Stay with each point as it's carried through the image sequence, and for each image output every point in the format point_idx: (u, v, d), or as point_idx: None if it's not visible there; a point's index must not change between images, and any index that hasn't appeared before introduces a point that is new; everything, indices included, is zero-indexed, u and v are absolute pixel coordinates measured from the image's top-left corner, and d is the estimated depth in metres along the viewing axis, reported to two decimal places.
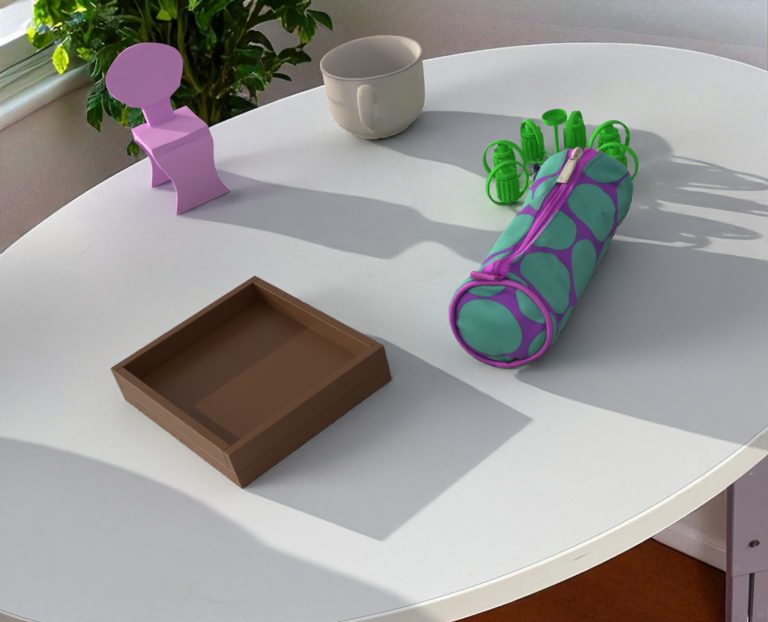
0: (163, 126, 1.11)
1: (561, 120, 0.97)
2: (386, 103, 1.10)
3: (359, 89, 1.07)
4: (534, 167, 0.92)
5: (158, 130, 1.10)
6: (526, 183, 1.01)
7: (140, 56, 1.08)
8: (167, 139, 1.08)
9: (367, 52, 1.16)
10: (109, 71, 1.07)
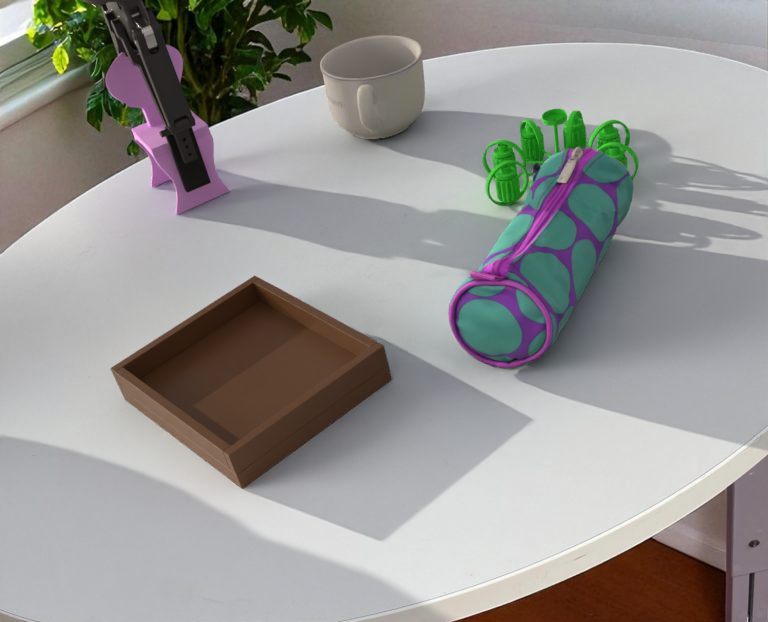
0: (163, 126, 1.11)
1: (561, 120, 0.97)
2: (386, 103, 1.10)
3: (359, 89, 1.07)
4: (534, 167, 0.92)
5: (158, 130, 1.10)
6: (526, 183, 1.01)
7: None
8: None
9: (367, 52, 1.16)
10: (109, 71, 1.07)
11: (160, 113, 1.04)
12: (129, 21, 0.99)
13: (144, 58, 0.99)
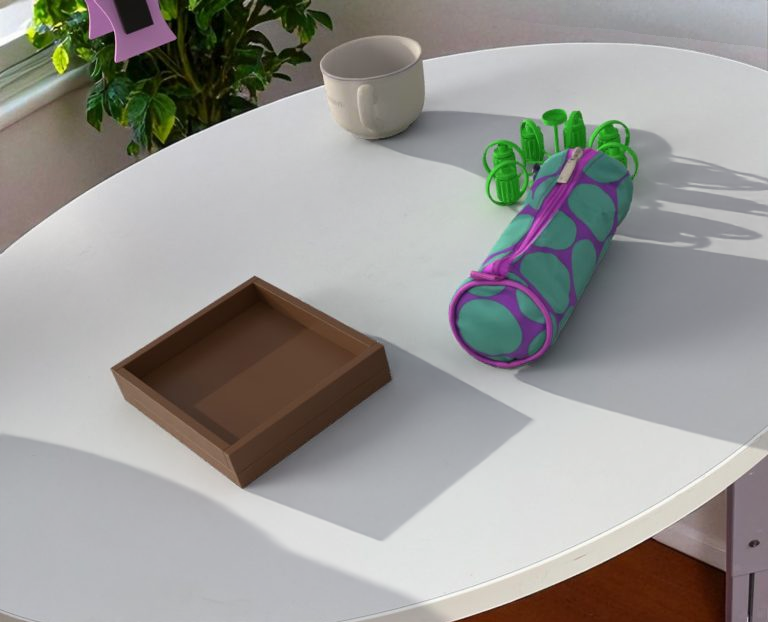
0: None
1: (561, 120, 0.97)
2: (386, 103, 1.10)
3: (359, 89, 1.07)
4: (534, 167, 0.92)
5: None
6: (526, 183, 1.01)
7: None
8: None
9: (367, 52, 1.16)
10: None
11: None
12: None
13: None
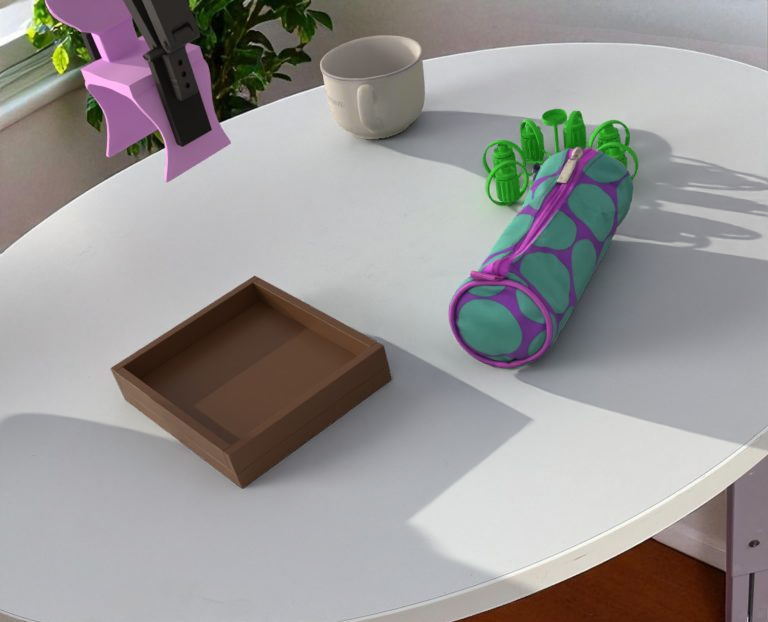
0: (129, 58, 0.77)
1: (561, 120, 0.97)
2: (386, 103, 1.10)
3: (359, 89, 1.07)
4: (534, 167, 0.92)
5: (125, 64, 0.77)
6: (526, 183, 1.01)
7: None
8: (146, 71, 0.75)
9: (367, 52, 1.16)
10: None
11: (143, 25, 0.71)
12: None
13: None
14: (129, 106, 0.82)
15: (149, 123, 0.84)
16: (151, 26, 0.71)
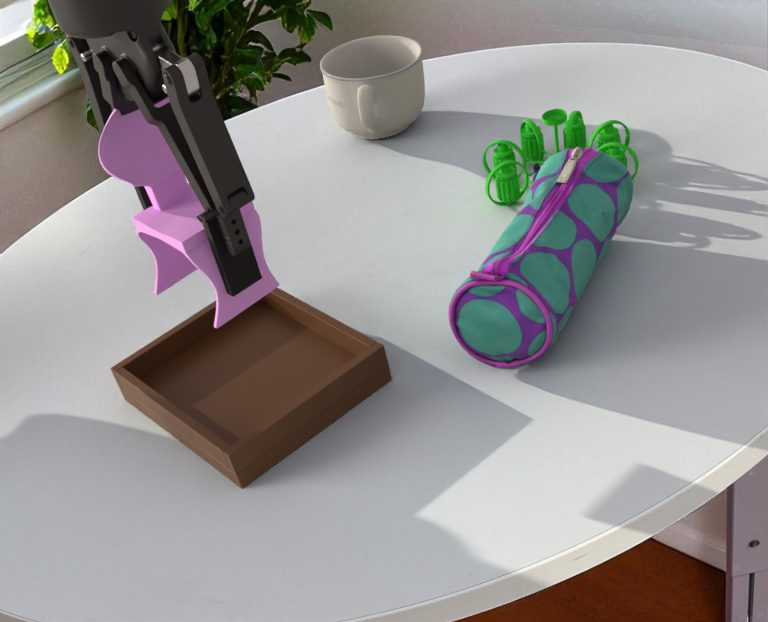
0: (180, 208, 0.77)
1: (561, 120, 0.97)
2: (386, 103, 1.10)
3: (359, 89, 1.07)
4: (534, 167, 0.92)
5: (176, 215, 0.77)
6: (526, 183, 1.01)
7: None
8: (198, 225, 0.75)
9: (367, 52, 1.16)
10: (103, 138, 0.73)
11: (198, 189, 0.71)
12: (150, 58, 0.66)
13: (182, 109, 0.66)
14: None
15: None
16: (206, 189, 0.71)
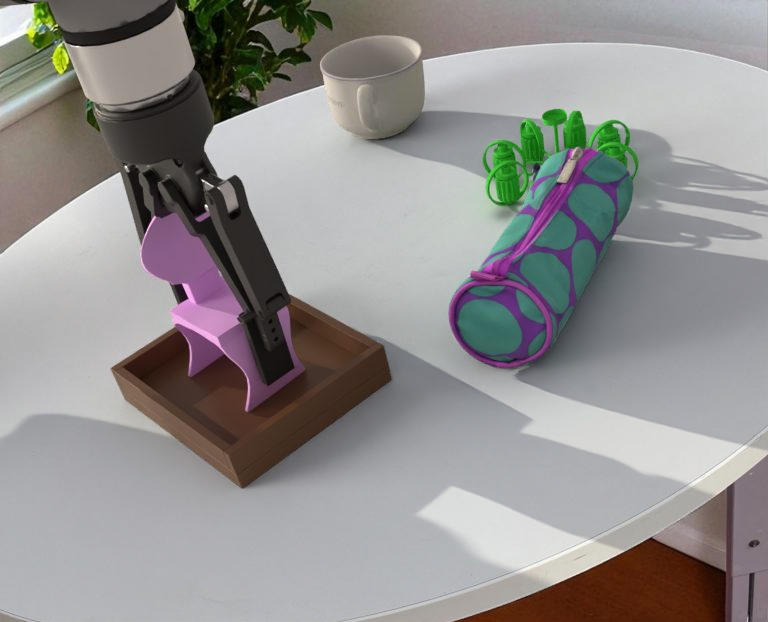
0: (215, 301, 0.83)
1: (561, 120, 0.97)
2: (386, 103, 1.10)
3: (359, 89, 1.07)
4: (534, 167, 0.92)
5: (211, 308, 0.83)
6: (526, 183, 1.01)
7: (179, 217, 0.80)
8: (232, 319, 0.81)
9: (367, 52, 1.16)
10: (145, 243, 0.78)
11: (238, 293, 0.76)
12: (194, 182, 0.72)
13: (223, 226, 0.72)
14: None
15: None
16: (245, 293, 0.76)
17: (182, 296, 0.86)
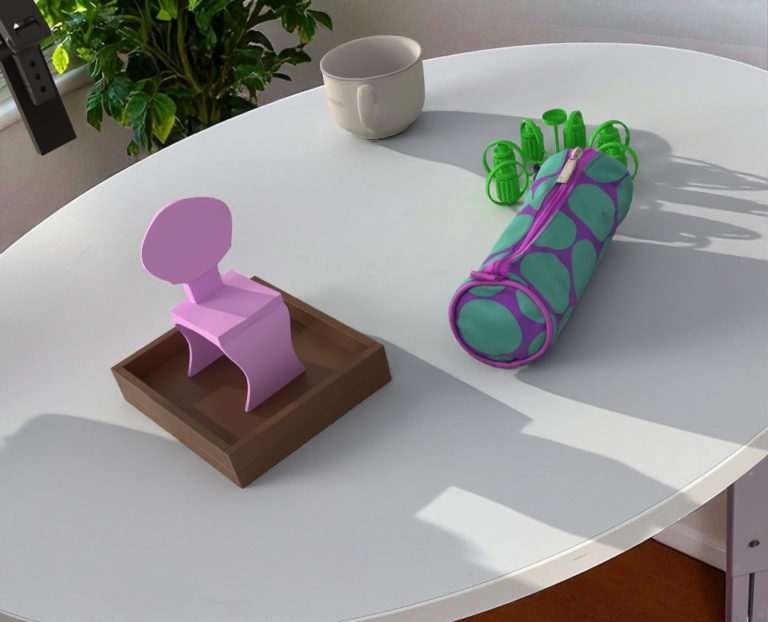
0: (215, 301, 0.83)
1: (561, 120, 0.97)
2: (386, 103, 1.10)
3: (359, 89, 1.07)
4: (534, 167, 0.92)
5: (211, 308, 0.83)
6: (526, 183, 1.01)
7: (179, 217, 0.80)
8: (232, 320, 0.81)
9: (367, 52, 1.16)
10: (145, 243, 0.78)
11: None
12: None
13: None
14: None
15: None
16: None
17: None
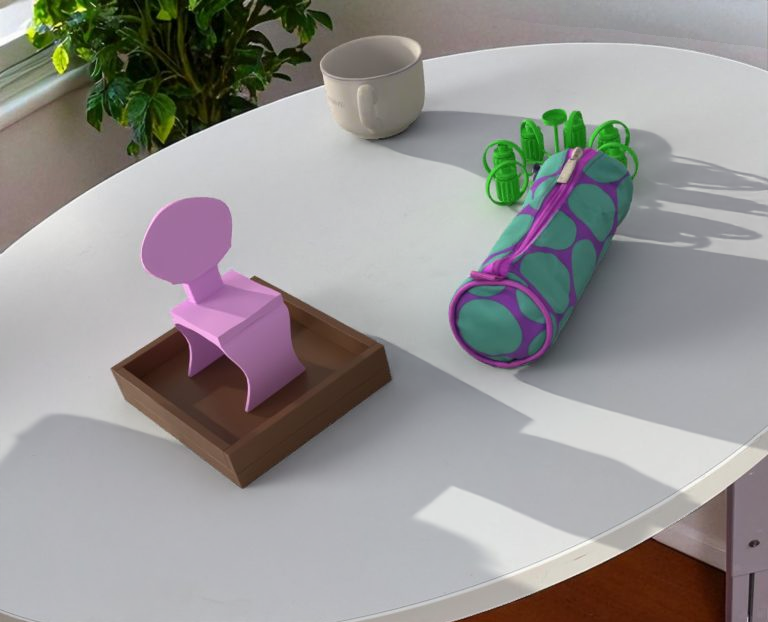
0: (215, 301, 0.83)
1: (561, 120, 0.97)
2: (386, 103, 1.10)
3: (359, 89, 1.07)
4: (534, 167, 0.92)
5: (211, 309, 0.83)
6: (526, 183, 1.01)
7: (179, 217, 0.80)
8: (232, 320, 0.81)
9: (367, 52, 1.16)
10: (145, 243, 0.78)
11: None
12: None
13: None
14: None
15: None
16: None
17: None
